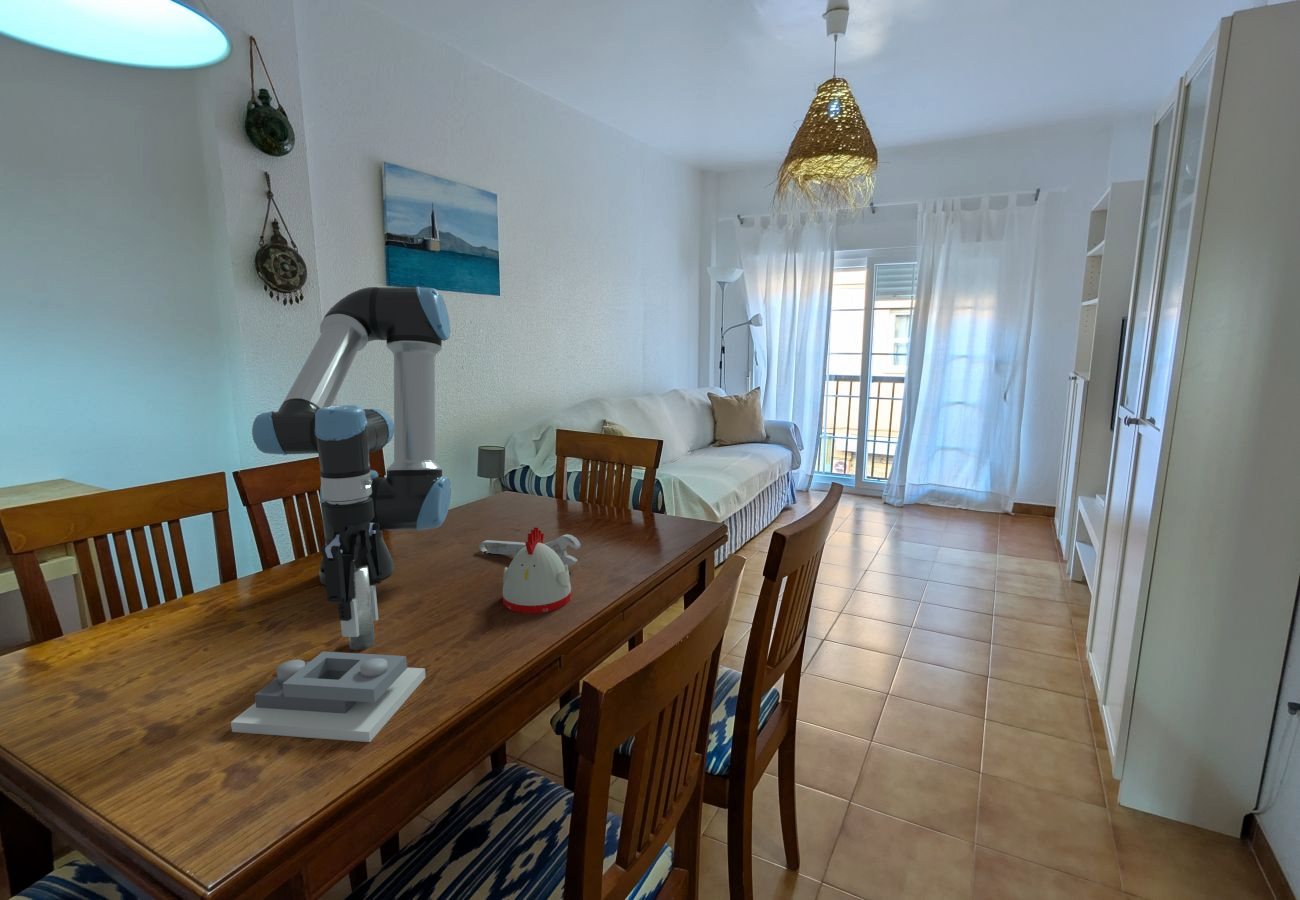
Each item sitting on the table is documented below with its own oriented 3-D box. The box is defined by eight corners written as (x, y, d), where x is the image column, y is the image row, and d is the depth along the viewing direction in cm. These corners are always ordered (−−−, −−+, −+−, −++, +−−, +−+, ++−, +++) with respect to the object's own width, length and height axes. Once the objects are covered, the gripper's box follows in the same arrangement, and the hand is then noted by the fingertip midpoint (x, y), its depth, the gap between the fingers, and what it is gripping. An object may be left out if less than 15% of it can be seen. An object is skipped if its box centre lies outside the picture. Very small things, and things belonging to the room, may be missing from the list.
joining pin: (344, 649, 108) (337, 572, 105) (358, 638, 112) (350, 564, 109) (366, 650, 107) (359, 573, 105) (379, 639, 111) (372, 564, 109)
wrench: (486, 561, 157) (584, 568, 143) (481, 563, 156) (579, 571, 141) (481, 530, 156) (579, 534, 142) (476, 532, 155) (575, 536, 140)
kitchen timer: (491, 610, 123) (487, 537, 120) (517, 583, 136) (514, 517, 133) (559, 615, 120) (557, 541, 118) (579, 587, 134) (577, 520, 131)
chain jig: (232, 731, 85) (226, 688, 84) (307, 670, 101) (303, 632, 100) (369, 742, 83) (365, 697, 82) (425, 677, 99) (422, 639, 98)
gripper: (336, 514, 95) (350, 655, 99) (397, 485, 113) (407, 605, 117) (290, 513, 96) (306, 652, 100) (358, 484, 114) (369, 604, 118)
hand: (360, 627), depth 109 cm, fingers open, 5 cm apart
